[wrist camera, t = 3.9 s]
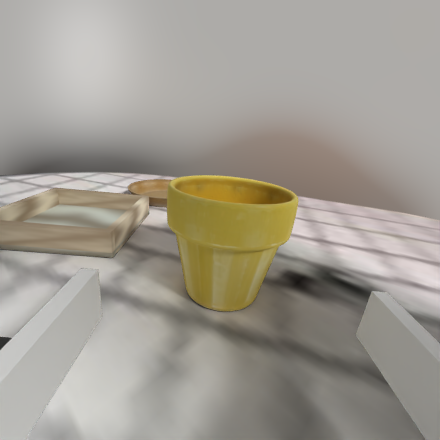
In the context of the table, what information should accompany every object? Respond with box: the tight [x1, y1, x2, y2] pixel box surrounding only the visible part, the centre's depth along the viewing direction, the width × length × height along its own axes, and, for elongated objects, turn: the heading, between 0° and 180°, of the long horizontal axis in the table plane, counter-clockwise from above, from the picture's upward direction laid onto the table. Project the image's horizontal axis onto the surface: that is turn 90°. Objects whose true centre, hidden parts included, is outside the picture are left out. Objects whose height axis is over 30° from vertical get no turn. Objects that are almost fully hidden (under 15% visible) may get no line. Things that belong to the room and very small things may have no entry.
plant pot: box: [167, 175, 298, 311], centre depth 21 cm, size 10×10×10 cm
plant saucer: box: [128, 179, 172, 207], centre depth 49 cm, size 15×15×3 cm
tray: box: [0, 188, 149, 258], centre depth 32 cm, size 15×15×3 cm
